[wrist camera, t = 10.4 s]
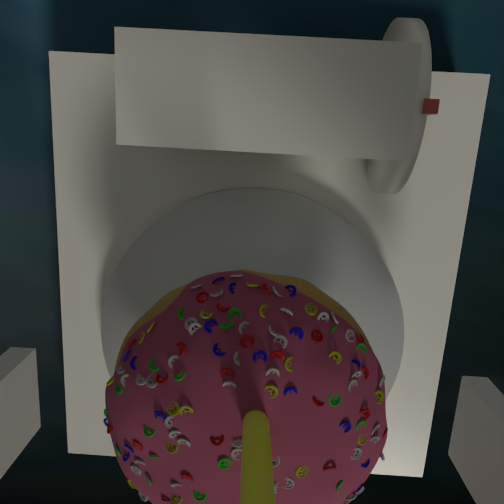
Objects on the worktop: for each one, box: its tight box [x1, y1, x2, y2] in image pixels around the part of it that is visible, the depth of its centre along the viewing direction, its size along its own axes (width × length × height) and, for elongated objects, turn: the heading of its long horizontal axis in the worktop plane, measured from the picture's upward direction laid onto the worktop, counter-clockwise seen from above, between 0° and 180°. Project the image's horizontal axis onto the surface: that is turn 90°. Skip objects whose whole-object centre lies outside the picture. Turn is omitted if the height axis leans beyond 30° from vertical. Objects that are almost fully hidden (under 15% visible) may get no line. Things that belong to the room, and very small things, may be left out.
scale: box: [49, 17, 490, 477], centre depth 18 cm, size 16×18×8 cm
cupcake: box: [103, 270, 388, 504], centre depth 13 cm, size 9×8×12 cm
